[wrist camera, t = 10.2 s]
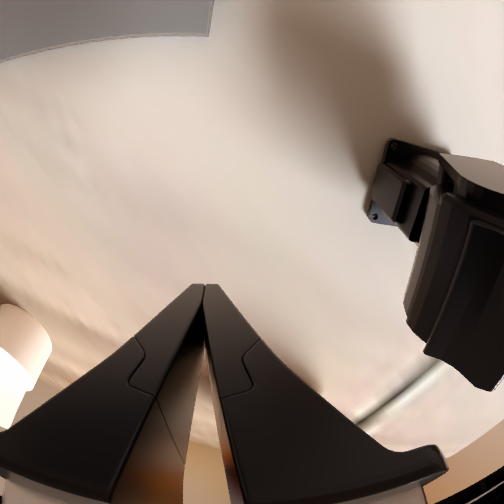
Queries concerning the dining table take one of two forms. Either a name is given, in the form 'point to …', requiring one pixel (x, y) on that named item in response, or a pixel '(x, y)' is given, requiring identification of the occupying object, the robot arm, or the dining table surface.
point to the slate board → (95, 22)
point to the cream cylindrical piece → (19, 358)
